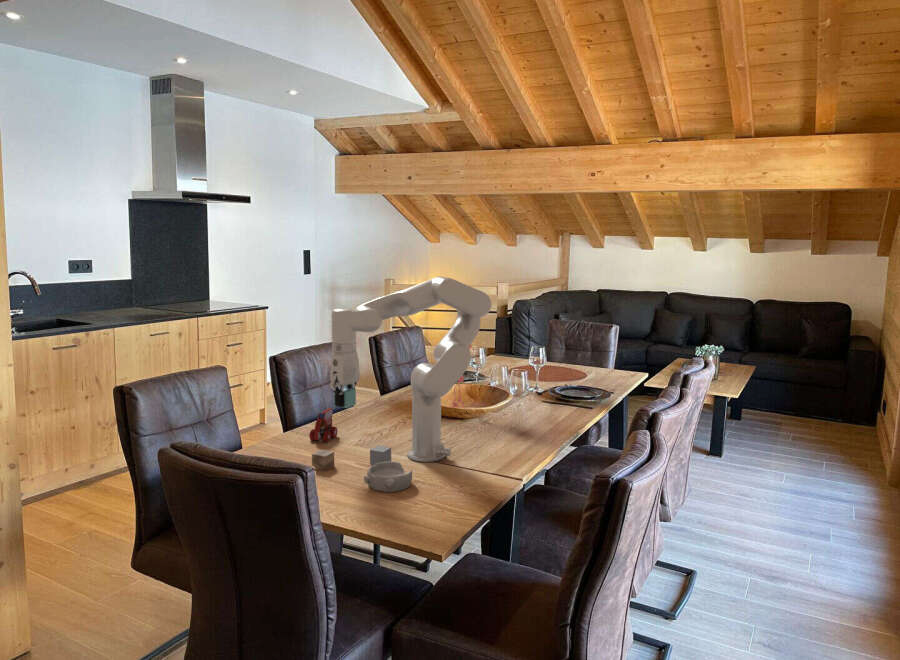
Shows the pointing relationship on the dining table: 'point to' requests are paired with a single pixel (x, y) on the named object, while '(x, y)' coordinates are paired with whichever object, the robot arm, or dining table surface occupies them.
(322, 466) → the walnut block
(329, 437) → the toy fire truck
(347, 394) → the teal block
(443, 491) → the dining table surface
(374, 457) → the slate grey block
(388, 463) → the dish
